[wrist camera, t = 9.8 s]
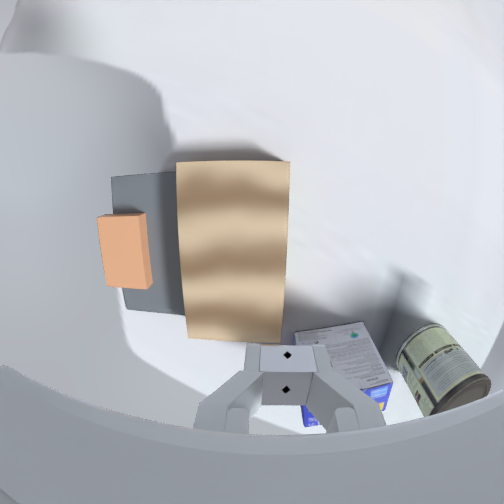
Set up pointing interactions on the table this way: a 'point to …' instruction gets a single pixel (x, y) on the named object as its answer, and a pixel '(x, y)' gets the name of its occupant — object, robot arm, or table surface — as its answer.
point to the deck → (233, 248)
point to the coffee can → (440, 371)
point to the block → (125, 250)
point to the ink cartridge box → (350, 361)
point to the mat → (154, 238)
